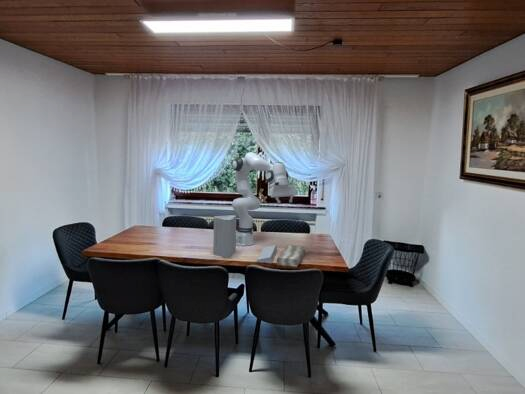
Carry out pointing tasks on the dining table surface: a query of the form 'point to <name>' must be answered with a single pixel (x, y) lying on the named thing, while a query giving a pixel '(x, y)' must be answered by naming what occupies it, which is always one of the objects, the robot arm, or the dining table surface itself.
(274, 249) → the decorative molding
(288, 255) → the grey beige flat block
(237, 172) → the robot arm
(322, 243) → the dining table surface
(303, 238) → the dining table surface
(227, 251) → the tall grey upright block
